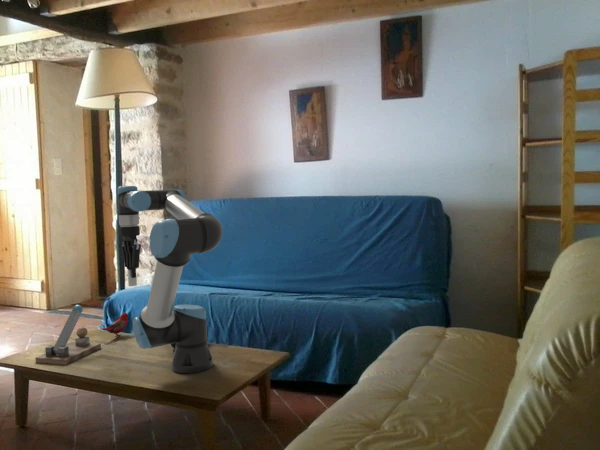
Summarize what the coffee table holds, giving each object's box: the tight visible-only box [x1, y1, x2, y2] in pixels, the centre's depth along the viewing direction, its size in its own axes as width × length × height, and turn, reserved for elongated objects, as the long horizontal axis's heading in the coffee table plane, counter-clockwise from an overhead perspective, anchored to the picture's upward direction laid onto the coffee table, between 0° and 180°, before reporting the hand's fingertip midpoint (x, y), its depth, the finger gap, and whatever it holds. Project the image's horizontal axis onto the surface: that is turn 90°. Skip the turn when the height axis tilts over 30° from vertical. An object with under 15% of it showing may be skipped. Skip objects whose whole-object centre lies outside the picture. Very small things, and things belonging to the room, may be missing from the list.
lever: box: [52, 304, 84, 355], centre depth 222 cm, size 4×4×22 cm
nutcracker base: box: [35, 326, 102, 366], centre depth 223 cm, size 22×14×9 cm, turn 165°
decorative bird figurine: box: [99, 312, 130, 338], centre depth 247 cm, size 3×18×10 cm, turn 153°
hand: (132, 285), depth 213 cm, fingers closed
